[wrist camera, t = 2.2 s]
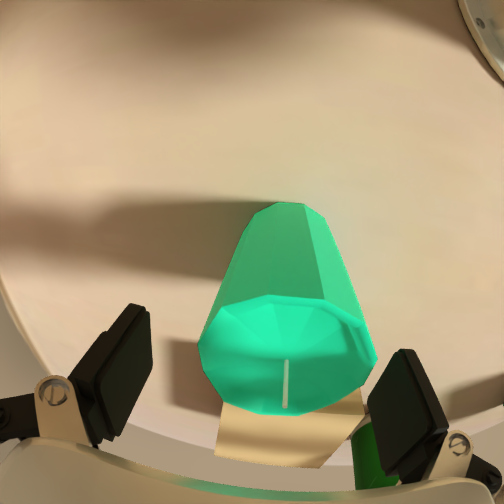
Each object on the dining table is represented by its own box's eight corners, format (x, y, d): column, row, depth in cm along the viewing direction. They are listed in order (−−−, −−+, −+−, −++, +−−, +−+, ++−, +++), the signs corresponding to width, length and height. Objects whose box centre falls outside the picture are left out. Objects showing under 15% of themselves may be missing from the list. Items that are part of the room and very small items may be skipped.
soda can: (341, 439, 27) (346, 529, 16) (361, 402, 24) (376, 511, 13) (398, 434, 26) (413, 516, 15) (424, 398, 23) (453, 491, 12)
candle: (326, 193, 17) (393, 308, 6) (339, 280, 19) (379, 437, 8) (230, 211, 18) (149, 340, 7) (252, 294, 20) (219, 451, 9)
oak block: (231, 367, 20) (224, 398, 17) (359, 385, 20) (365, 415, 17) (219, 430, 24) (213, 455, 21) (318, 444, 24) (318, 468, 21)
